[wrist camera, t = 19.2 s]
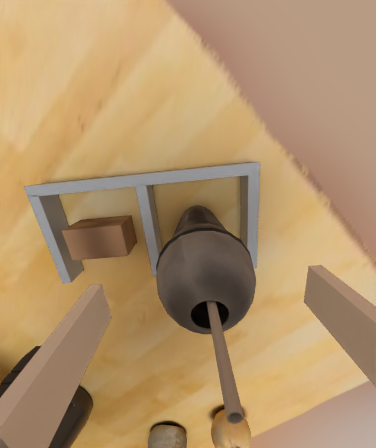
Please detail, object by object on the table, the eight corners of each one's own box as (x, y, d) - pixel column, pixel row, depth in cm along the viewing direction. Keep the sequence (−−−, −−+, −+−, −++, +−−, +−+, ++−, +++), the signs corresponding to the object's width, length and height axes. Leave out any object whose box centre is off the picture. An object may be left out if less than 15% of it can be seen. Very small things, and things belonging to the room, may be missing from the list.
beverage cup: (168, 242, 25) (106, 485, 6) (174, 191, 23) (100, 343, 4) (218, 249, 26) (300, 499, 7) (229, 199, 23) (408, 375, 4)
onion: (249, 420, 40) (260, 472, 33) (214, 425, 41) (219, 477, 34) (241, 399, 37) (253, 451, 31) (205, 405, 38) (208, 457, 32)
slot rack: (76, 270, 27) (62, 283, 24) (44, 183, 23) (23, 186, 20) (249, 256, 26) (256, 267, 23) (250, 162, 22) (260, 162, 19)
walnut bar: (89, 245, 26) (72, 260, 22) (81, 219, 24) (61, 230, 21) (137, 241, 25) (127, 255, 22) (131, 215, 24) (120, 225, 20)
